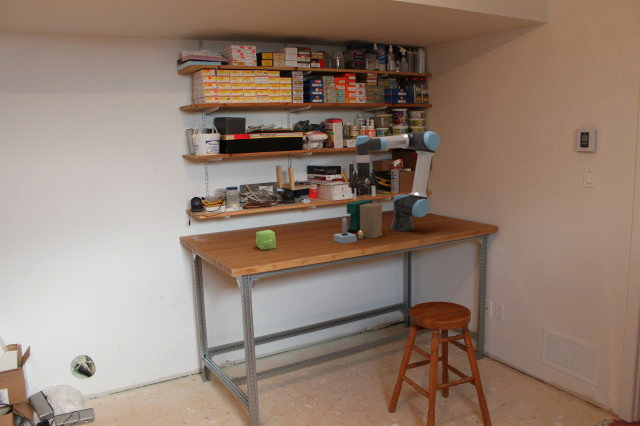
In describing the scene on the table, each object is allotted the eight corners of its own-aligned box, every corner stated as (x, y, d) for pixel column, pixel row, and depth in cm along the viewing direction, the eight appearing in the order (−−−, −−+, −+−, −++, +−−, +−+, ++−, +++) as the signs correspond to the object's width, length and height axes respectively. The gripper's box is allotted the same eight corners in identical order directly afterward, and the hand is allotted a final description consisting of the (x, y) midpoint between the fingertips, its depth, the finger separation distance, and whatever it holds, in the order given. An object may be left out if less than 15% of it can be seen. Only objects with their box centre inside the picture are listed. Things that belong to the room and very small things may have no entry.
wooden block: (368, 234, 331) (368, 203, 328) (382, 235, 325) (382, 204, 322) (359, 236, 324) (359, 205, 320) (373, 238, 317) (373, 206, 314)
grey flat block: (347, 238, 319) (347, 232, 318) (356, 241, 310) (356, 235, 309) (333, 240, 314) (333, 234, 313) (342, 243, 305) (342, 237, 305)
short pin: (361, 237, 321) (361, 230, 320) (364, 238, 318) (364, 230, 317) (357, 238, 319) (357, 230, 318) (359, 239, 316) (359, 231, 315)
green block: (252, 246, 307) (251, 230, 306) (268, 243, 311) (267, 228, 310) (261, 251, 291) (259, 235, 289) (277, 249, 295) (276, 232, 293)
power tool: (370, 226, 358) (369, 197, 354) (379, 227, 354) (379, 197, 351) (346, 234, 332) (345, 203, 329) (355, 235, 328) (355, 204, 325)
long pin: (345, 240, 314) (345, 217, 312) (348, 241, 311) (348, 218, 309) (341, 241, 313) (340, 218, 310) (344, 242, 310) (343, 219, 307)
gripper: (377, 160, 314) (378, 194, 318) (341, 163, 303) (343, 199, 307) (384, 160, 308) (385, 196, 312) (348, 164, 297) (349, 200, 300)
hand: (364, 197), depth 309 cm, fingers open, 13 cm apart
